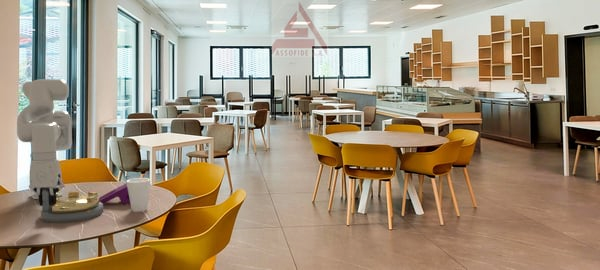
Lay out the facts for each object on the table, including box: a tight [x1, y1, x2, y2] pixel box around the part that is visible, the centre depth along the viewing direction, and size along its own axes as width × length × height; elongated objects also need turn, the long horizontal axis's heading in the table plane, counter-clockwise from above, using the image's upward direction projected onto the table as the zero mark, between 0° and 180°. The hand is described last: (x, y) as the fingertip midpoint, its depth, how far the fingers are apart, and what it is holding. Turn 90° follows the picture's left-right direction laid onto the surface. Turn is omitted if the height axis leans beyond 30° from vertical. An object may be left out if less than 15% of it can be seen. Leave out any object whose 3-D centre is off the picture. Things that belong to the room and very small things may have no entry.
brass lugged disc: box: [49, 190, 100, 214], centre depth 184 cm, size 20×20×4 cm
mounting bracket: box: [98, 182, 131, 206], centre depth 204 cm, size 9×8×18 cm
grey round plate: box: [40, 202, 104, 224], centre depth 185 cm, size 23×23×3 cm
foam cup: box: [126, 177, 151, 213], centre depth 191 cm, size 10×9×13 cm
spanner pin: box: [41, 188, 52, 212], centre depth 167 cm, size 3×3×10 cm
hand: (47, 204), depth 167 cm, fingers closed on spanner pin, 3 cm apart
